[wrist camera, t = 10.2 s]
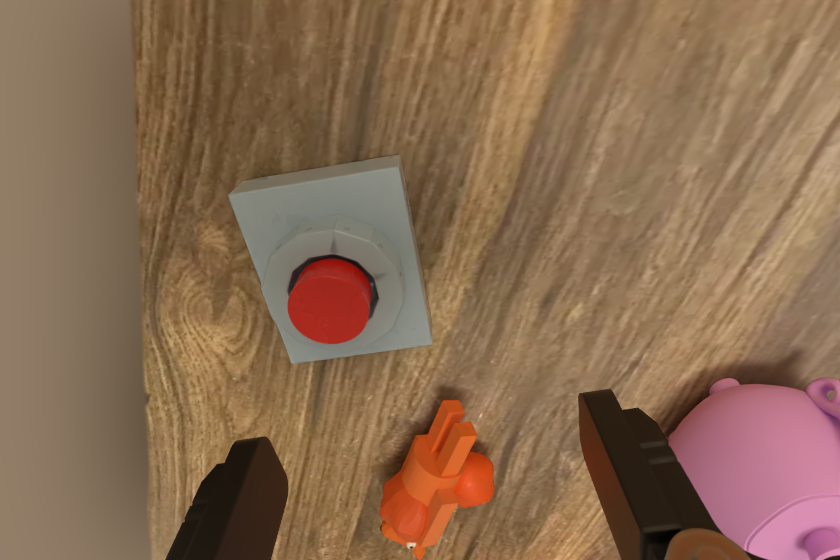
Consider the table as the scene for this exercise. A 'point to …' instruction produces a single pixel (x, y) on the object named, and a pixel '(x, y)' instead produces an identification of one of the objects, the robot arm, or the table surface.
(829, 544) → the teapot
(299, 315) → the bell button
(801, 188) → the table surface
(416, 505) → the orange fox minifigure
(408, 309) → the grey button base
